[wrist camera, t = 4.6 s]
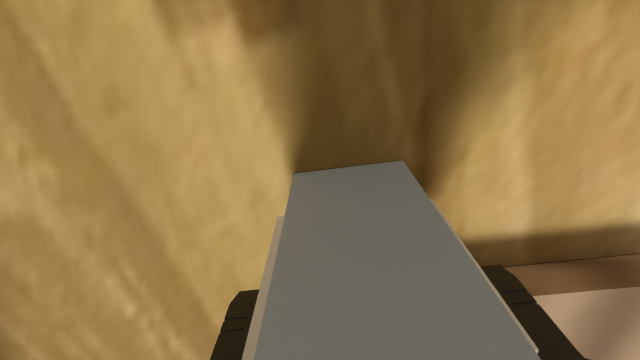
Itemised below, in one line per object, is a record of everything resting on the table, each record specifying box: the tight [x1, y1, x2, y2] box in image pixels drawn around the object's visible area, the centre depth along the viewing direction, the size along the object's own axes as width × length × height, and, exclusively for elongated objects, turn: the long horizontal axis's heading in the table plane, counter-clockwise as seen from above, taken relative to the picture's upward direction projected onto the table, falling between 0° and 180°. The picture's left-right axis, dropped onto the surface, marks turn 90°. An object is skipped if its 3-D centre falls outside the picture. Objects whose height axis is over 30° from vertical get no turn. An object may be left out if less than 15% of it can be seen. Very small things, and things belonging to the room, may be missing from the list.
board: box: [504, 254, 640, 360], centre depth 17 cm, size 30×10×2 cm, turn 98°
